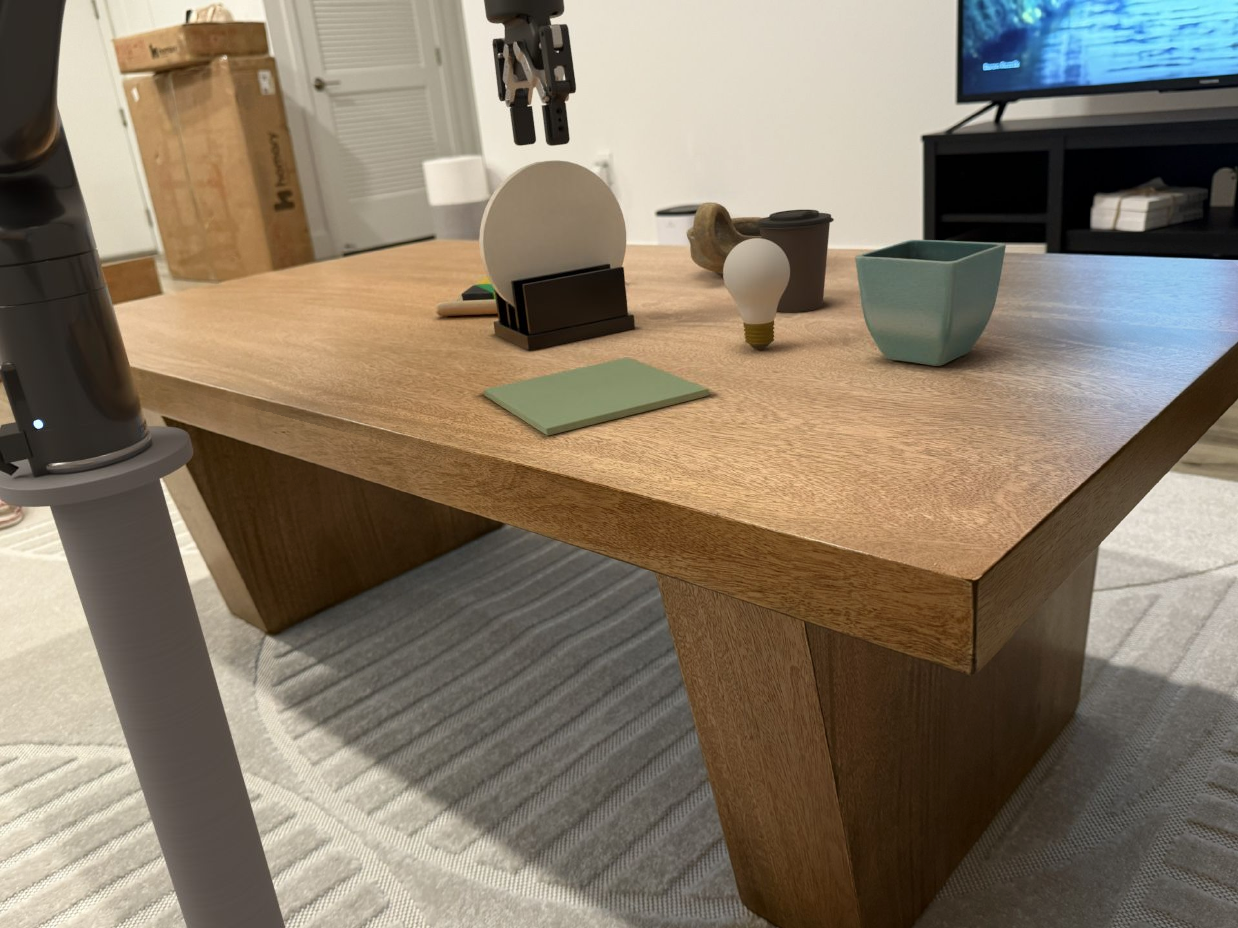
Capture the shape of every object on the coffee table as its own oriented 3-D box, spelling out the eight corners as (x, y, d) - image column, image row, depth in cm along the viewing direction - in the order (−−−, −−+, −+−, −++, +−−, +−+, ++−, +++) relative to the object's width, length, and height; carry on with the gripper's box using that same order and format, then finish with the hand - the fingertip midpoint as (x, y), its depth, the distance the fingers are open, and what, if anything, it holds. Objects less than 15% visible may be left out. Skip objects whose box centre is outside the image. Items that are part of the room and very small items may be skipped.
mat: (547, 436, 73) (546, 428, 72) (484, 395, 85) (483, 389, 84) (709, 395, 78) (708, 388, 78) (628, 363, 90) (627, 356, 90)
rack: (529, 351, 98) (520, 286, 96) (495, 335, 107) (486, 275, 105) (635, 328, 103) (629, 266, 101) (594, 315, 111) (588, 257, 109)
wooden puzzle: (433, 320, 118) (428, 291, 116) (493, 288, 134) (489, 262, 133) (571, 315, 113) (567, 285, 111) (616, 282, 129) (613, 255, 128)
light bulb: (714, 351, 91) (707, 242, 87) (761, 338, 94) (756, 231, 90) (758, 361, 86) (752, 246, 83) (806, 347, 89) (802, 235, 86)
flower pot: (1004, 350, 82) (1009, 241, 79) (951, 377, 76) (953, 261, 73) (909, 340, 88) (910, 238, 85) (853, 364, 82) (852, 256, 79)
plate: (493, 331, 101) (473, 168, 95) (489, 329, 102) (469, 168, 96) (631, 307, 107) (620, 153, 102) (626, 306, 108) (615, 153, 103)
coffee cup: (819, 316, 100) (816, 215, 97) (746, 314, 104) (741, 217, 101) (846, 299, 106) (845, 204, 103) (777, 297, 111) (773, 206, 107)
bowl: (814, 263, 128) (812, 184, 125) (753, 291, 115) (749, 204, 112) (721, 262, 136) (717, 188, 133) (654, 289, 123) (647, 207, 119)
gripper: (458, -22, 97) (482, 149, 103) (509, -47, 85) (533, 149, 91) (528, -26, 100) (548, 141, 106) (587, -50, 88) (606, 140, 94)
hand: (541, 145), depth 98 cm, fingers open, 8 cm apart
